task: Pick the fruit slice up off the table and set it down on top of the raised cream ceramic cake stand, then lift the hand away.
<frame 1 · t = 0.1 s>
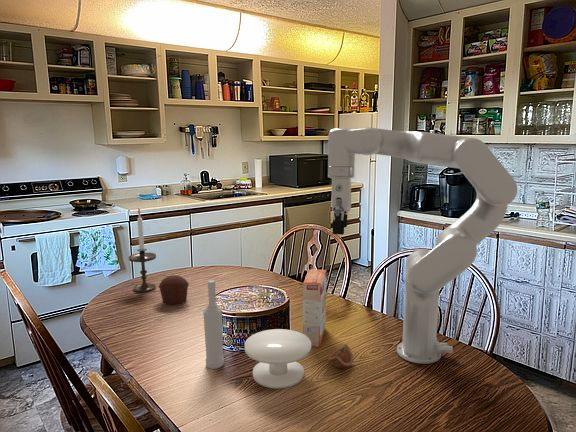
hand: (340, 230, 132), 37 cm above the table, tool pointing down, fingers open, 9 cm apart
candlestick: (144, 289, 190), on the table
cake stand: (278, 374, 123), on the table
muffin: (174, 301, 176), on the table
bottle: (214, 365, 128), on the table
fruit slice: (340, 366, 127), on the table
cracker box: (314, 337, 144), on the table
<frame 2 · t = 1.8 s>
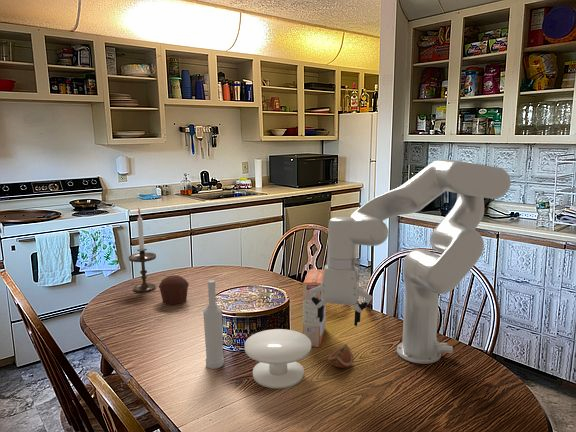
hand: (338, 322, 124), 13 cm above the table, tool pointing down, fingers open, 9 cm apart
nothing on the table moved.
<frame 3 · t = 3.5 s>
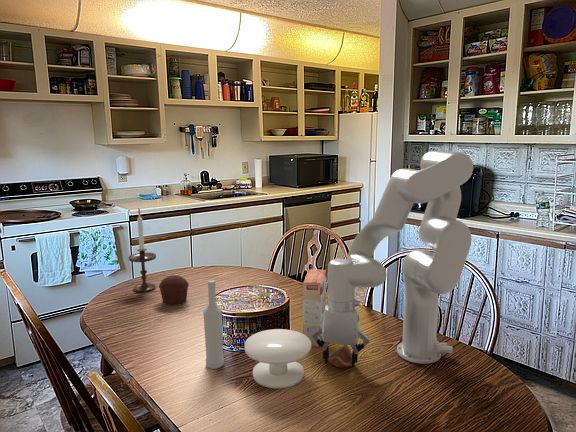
hand: (340, 362, 127), 1 cm above the table, tool pointing down, fingers closed on fruit slice, 7 cm apart
fruit slice: (339, 366, 127), on the table, touching gripper
everything else where it was.
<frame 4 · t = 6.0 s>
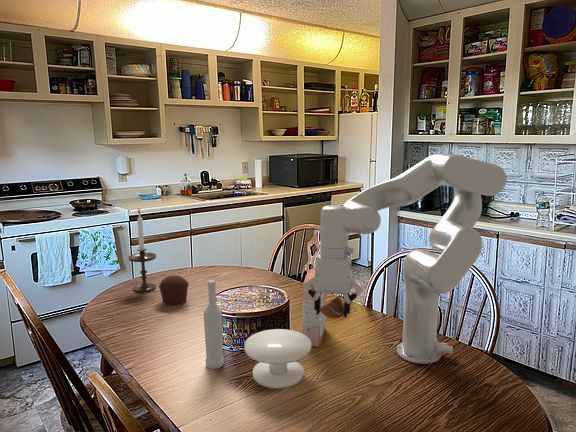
hand: (331, 313, 123), 16 cm above the table, tool pointing down, fingers closed on fruit slice, 7 cm apart
fruit slice: (331, 317, 123), point 15 cm above the table, touching gripper
everything else where it was.
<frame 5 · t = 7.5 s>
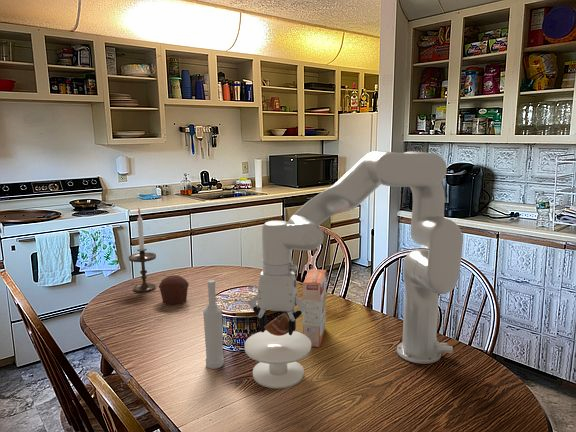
hand: (277, 331, 120), 13 cm above the table, tool pointing down, fingers closed on fruit slice, 7 cm apart
fruit slice: (277, 335, 121), point 11 cm above the table, touching gripper
everything else where it was.
when the fingers open (11 cm above the table, at t = 8.6 s): fruit slice drops 1 cm, resting on cake stand.
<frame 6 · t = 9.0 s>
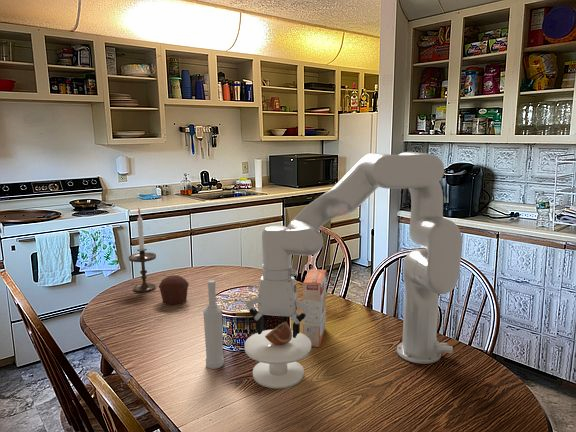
hand: (277, 334, 120), 12 cm above the table, tool pointing down, fingers open, 9 cm apart
fruit slice: (278, 344, 121), point 9 cm above the table, touching cake stand
everything else where it was.
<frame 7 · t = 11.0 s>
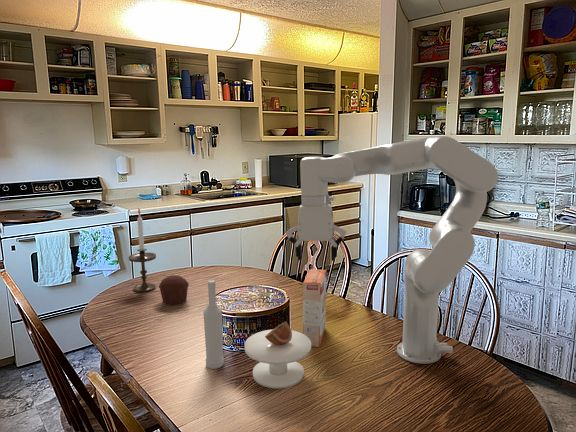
hand: (316, 259, 129), 29 cm above the table, tool pointing down, fingers open, 9 cm apart
nothing on the table moved.
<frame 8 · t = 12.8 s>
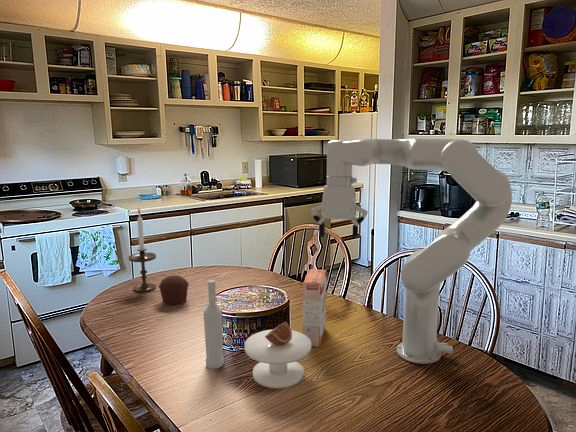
hand: (338, 237, 137), 33 cm above the table, tool pointing down, fingers open, 9 cm apart
nothing on the table moved.
at the end: fruit slice inside the target area on the cake stand (0.1 cm from its centre), point 8.8 cm above the cake stand's base; fruit slice touching cake stand; the gripper is holding nothing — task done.
